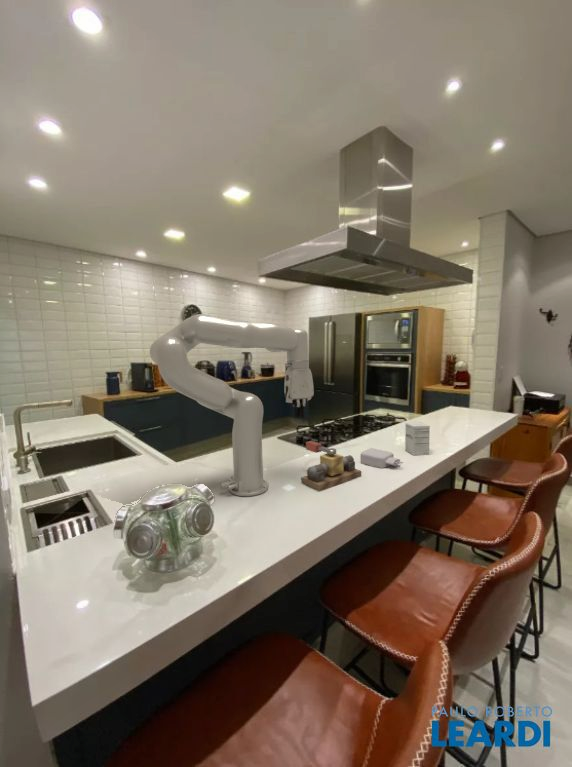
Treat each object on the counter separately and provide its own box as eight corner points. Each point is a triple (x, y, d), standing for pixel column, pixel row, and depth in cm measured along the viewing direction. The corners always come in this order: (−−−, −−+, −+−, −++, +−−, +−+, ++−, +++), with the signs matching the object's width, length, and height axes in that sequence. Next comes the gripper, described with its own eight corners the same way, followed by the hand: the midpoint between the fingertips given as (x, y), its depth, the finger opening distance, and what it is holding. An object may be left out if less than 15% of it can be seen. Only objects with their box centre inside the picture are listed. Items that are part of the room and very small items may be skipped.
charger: (396, 473, 118) (360, 464, 129) (407, 466, 124) (372, 458, 135) (396, 460, 118) (360, 452, 128) (407, 454, 124) (372, 447, 135)
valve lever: (338, 456, 112) (338, 448, 112) (331, 458, 110) (331, 450, 110) (312, 447, 123) (311, 440, 122) (305, 449, 121) (305, 442, 120)
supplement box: (404, 450, 144) (404, 422, 142) (420, 449, 144) (421, 421, 143) (413, 455, 136) (413, 426, 135) (429, 454, 137) (430, 425, 136)
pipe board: (319, 491, 103) (318, 462, 102) (301, 483, 110) (300, 456, 110) (361, 476, 115) (361, 450, 114) (342, 469, 122) (342, 445, 122)
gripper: (287, 367, 106) (289, 422, 108) (320, 364, 115) (322, 416, 117) (274, 366, 113) (276, 419, 114) (307, 364, 121) (308, 413, 123)
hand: (299, 417), depth 116 cm, fingers closed
